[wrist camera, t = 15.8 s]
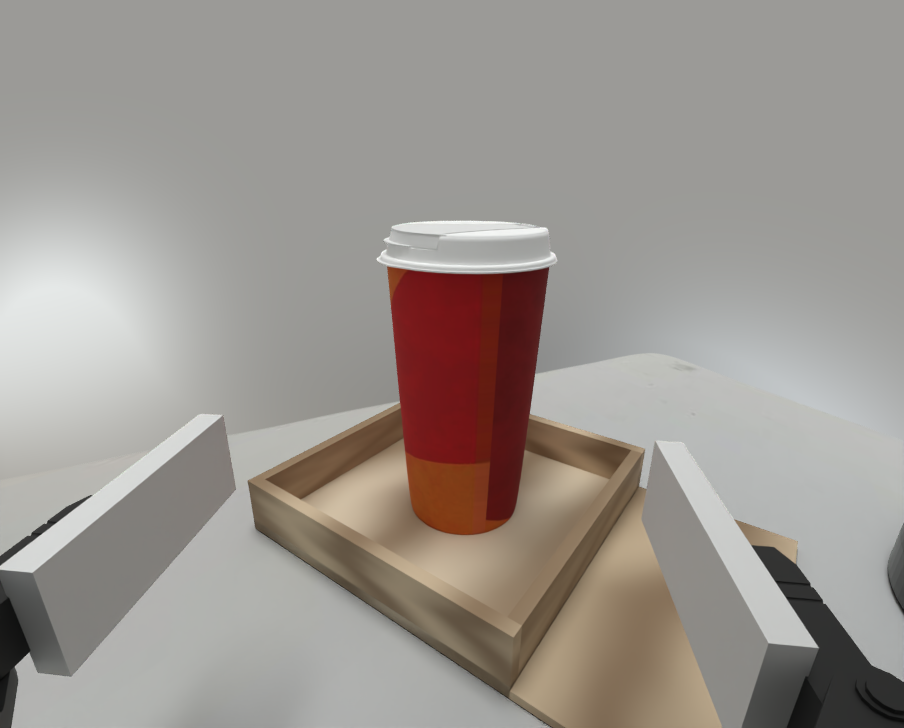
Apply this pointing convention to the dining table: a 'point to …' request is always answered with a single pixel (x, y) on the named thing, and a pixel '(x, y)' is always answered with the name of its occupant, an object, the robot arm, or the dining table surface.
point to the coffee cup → (466, 362)
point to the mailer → (509, 572)
